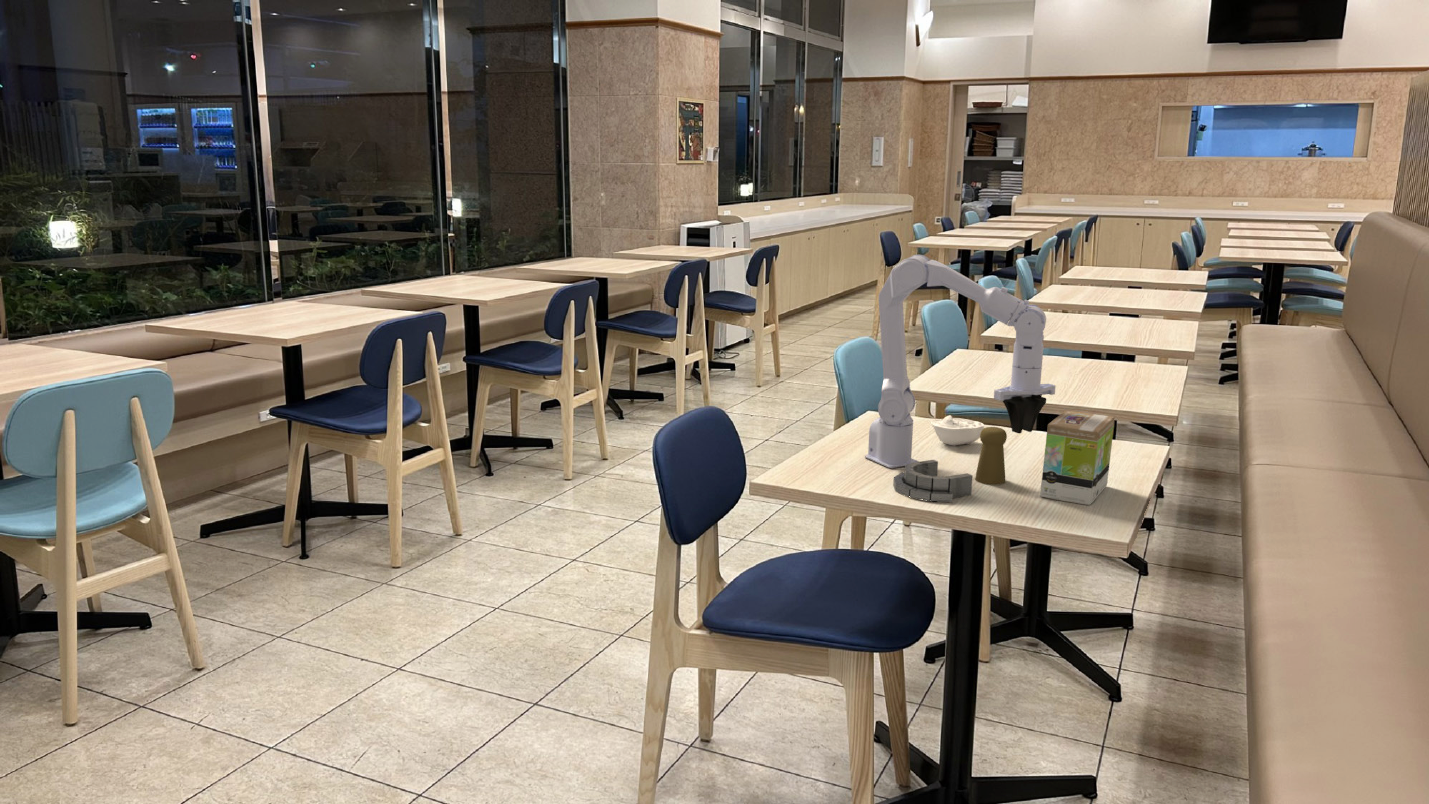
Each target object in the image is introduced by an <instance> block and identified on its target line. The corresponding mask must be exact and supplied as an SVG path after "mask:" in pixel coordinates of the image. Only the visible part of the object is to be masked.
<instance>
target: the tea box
mask: <svg viewBox="0 0 1429 804" xmlns="http://www.w3.org/2000/svg"><path fill="white" fill-rule="evenodd" d="M1046 429H1047V431H1046V437H1045V438H1046V440H1045V447H1044V455H1043V456H1044V457H1043V465H1042V476H1041V483H1040V484H1041V485H1040V493H1039V496H1040V497H1042V498H1047V499H1049V500H1050V499H1051V500H1056V501H1057V500H1058V501H1062V502H1063V501H1064V502H1068V503H1074V504H1080V505H1086V506H1091V505H1092V503H1093V502H1095V500H1096V499H1097V498H1098V497H1099V495H1100V494H1101V493H1103V490H1104V489H1106V487H1107V485H1108V481H1109V480H1108V479H1109V473H1110V472H1109V470H1110V463H1111V453H1112V447H1113V437H1114V429H1115V417H1114V416H1110V415H1104V414H1096V413H1095V414H1094V413H1089V412H1081V411H1080V412H1079V411H1074V410H1072V411H1071V410H1064V411H1063V412H1062V413H1060V414H1059V415H1058V416H1057V417H1055V418H1054V419H1053V420H1052V421H1051V422H1049V423H1048V424H1047V428H1046Z"/></svg>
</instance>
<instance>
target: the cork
mask: <svg viewBox="0 0 1429 804" xmlns="http://www.w3.org/2000/svg"><path fill="white" fill-rule="evenodd" d="M1007 438H1008V435H1007V431H1006V430H1005V429H1003V428H1002V427H998V426H986V427H984V429H982V431H981V433H980V438H979V439H980V441H981V443H982V444H981V449H980V453H979V458H978V462H977V463H978V464H977V468H976V473H975V477H974V480H975V481H976V482H977V483H979V484H984V485H991V486H998V485H1003V484H1005V483H1006V466H1005V452H1004V451H1005V449H1004V448H1005V447H1004V445H1005V443H1006V441H1007Z"/></svg>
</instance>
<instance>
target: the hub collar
mask: <svg viewBox="0 0 1429 804" xmlns="http://www.w3.org/2000/svg"><path fill="white" fill-rule="evenodd" d="M903 470H904V472H903V471H902V472H900V473H898V474H897V475H894V476H893V481H892V482H893V483H892V484H893V488H894V491H895V493H898V494H900V495H902V494H903V495H902V496H904V495H905V496H904V497H906V496H908V497H909V496H910V497H911V498H910V497H909V498H910V499H912V498H917V499H916V500H918V499H923V500H927V501H926V502H928V501H930V500H931V501H937V502H936V503H953V499H957V498H958V499H959V498H962V497H969V496H972V490H973V474H970V473H967V472H966V473H961V474H953V475H948V476H938V470H939V461H937V460H935V459H928V460H923V461H919V462H914V463H910V464H908V465H907V466H904V469H903ZM908 497H907V498H908ZM923 500H922V501H923ZM931 501H930V502H931Z"/></svg>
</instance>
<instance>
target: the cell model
mask: <svg viewBox="0 0 1429 804" xmlns="http://www.w3.org/2000/svg"><path fill="white" fill-rule="evenodd" d="M930 424H931V426H932V427H933V430H934V432H935V434H936V436H937V437H938V439H939V441H940V442H942V443H943V444H945V443H946V445H948V446H958V445H967V444H973V443H974V442H976V441H978V440H979V439H980V433H981V431H982V429H984V428H985V424H984V423H982V422H980V421H978V420H977V421H976V420H972V419H966V418H960V417H952V415H947V416H945V417H944V418H941V419H940V418H939V419H935V420H932V421H931V422H930Z"/></svg>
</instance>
